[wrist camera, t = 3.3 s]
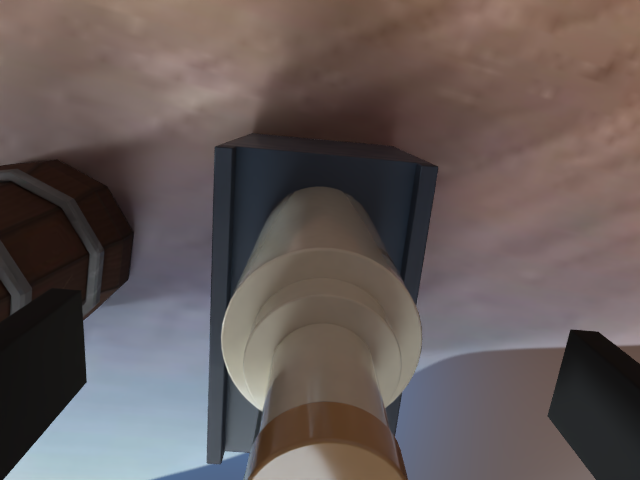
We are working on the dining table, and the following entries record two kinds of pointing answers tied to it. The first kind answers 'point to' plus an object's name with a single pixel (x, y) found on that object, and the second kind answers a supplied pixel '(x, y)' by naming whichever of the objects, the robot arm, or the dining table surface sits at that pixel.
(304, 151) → the blue channel bracket
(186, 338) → the dining table surface
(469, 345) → the dining table surface
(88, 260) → the mug
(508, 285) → the dining table surface
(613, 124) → the dining table surface
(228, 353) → the oil bottle
